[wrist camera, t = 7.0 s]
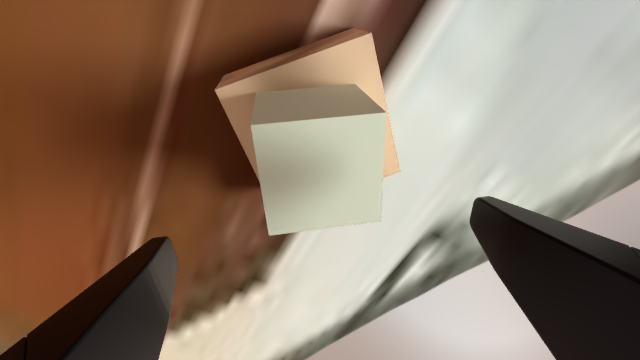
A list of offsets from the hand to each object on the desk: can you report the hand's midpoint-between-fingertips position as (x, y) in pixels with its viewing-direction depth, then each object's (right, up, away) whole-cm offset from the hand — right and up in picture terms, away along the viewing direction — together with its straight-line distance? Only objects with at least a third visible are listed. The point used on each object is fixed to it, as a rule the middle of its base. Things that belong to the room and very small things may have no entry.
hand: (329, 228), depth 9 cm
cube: (-1, +4, +8) cm, 9 cm away
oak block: (-1, +6, +11) cm, 13 cm away
